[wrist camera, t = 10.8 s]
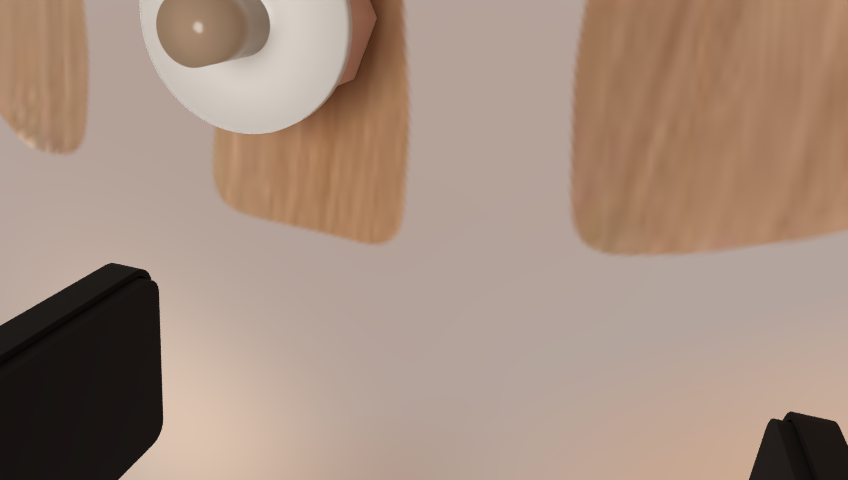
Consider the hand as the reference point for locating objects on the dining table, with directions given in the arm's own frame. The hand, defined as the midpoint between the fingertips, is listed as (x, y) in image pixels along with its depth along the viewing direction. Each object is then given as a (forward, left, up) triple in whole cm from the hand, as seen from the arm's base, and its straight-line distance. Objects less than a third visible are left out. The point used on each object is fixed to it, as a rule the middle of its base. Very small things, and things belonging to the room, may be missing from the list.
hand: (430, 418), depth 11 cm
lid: (+13, -9, -26) cm, 30 cm away
